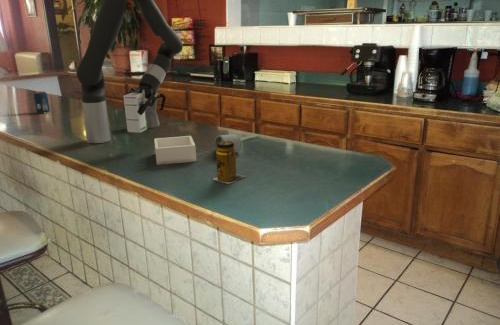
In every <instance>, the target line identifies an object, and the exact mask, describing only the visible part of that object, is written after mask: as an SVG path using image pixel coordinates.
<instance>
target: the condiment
mask: <svg viewBox="0 0 500 325" xmlns="http://www.w3.org/2000/svg"><path fill="white" fill-rule="evenodd" d="M217 150H218V151H217V152H215V154H216V172H217V173H216V174H217V175H216V176H217V177H214V178H212V180H214V181H217V182H219V183H222V184H227V185H230V184H232V183H235V182H237V181H239V180H241V179H244V178H245V177H247V175H241V174H238V173H237V167H236V166H237V156H236V155H237V152H235V150H234V143H233V142H230V141H222V142H219V143H218V144H217Z"/></svg>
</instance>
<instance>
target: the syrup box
mask: <svg viewBox="0 0 500 325" xmlns="http://www.w3.org/2000/svg"><path fill="white" fill-rule="evenodd" d="M142 95H143V94H142V93H130V94H128V93H127V94H125V95H124V94H123V104H124V107H125V111H124V113H125V114H124V115H125V120H126V128H127V129H126V130H127V132H128V133H139V134H140V133H143V132H144V131H147V130H148V128H147V121H146V112H145V111H144V113H143V114H142V115H140V114H138V113H137V111H138V109H139V108H140V106H141V104H143V100H142Z"/></svg>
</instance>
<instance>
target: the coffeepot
mask: <svg viewBox="0 0 500 325" xmlns="http://www.w3.org/2000/svg"><path fill="white" fill-rule="evenodd" d="M158 94H159V96H158V98H157V100H156V101H155V103H154V104H153V106H152V107H150V106H149V107H147V108H146V110H145V112H146V121H147V129H153V128H154V129H155V128H158V127H159V126H160V124H161V123H160V121H159V117H158V113H157V111H156V110H157V105H158V99H160V98H162V99H161V104H160V108H158V111H163V110H164V107H165V104H166V100H167V96H166V95H165V94H164V93H158ZM150 102H152V100H151V101H150Z"/></svg>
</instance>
